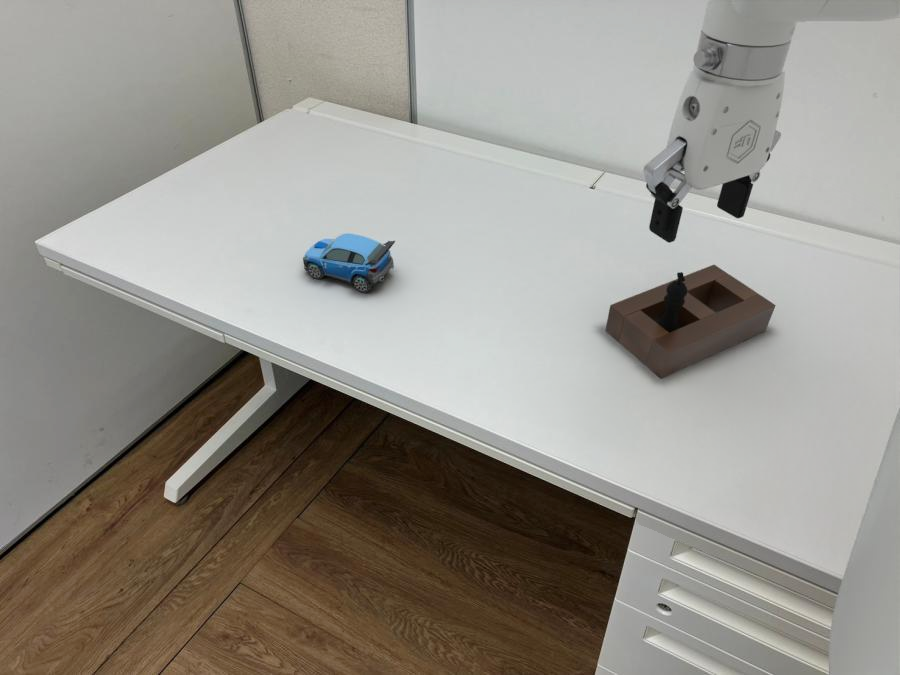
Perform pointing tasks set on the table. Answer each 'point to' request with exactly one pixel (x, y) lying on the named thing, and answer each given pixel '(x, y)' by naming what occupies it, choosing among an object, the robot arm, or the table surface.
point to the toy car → (350, 260)
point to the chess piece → (673, 303)
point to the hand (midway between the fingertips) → (696, 223)
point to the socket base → (689, 321)
